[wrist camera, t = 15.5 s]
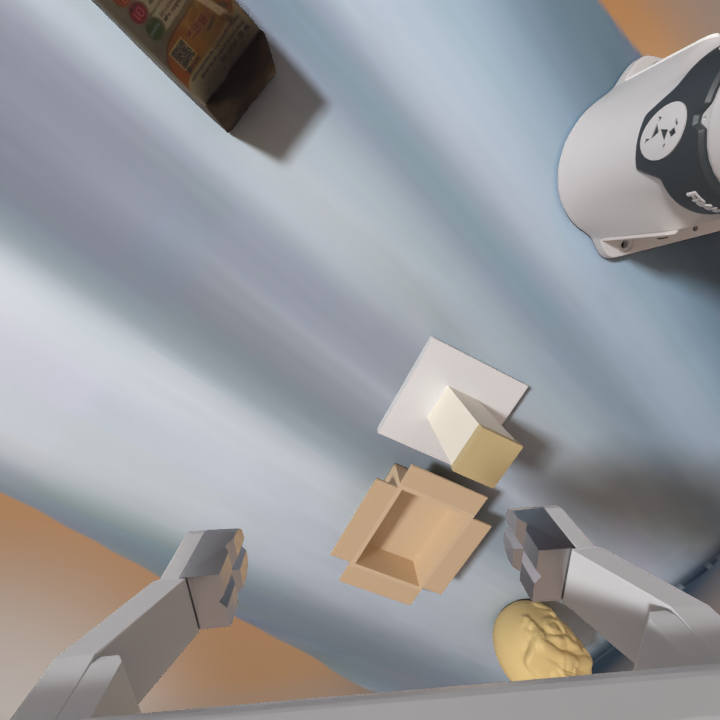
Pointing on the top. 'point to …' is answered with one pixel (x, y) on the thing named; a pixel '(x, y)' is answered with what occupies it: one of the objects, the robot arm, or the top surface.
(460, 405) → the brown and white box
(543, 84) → the top surface
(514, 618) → the sculpture
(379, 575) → the carton
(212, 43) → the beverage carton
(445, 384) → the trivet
